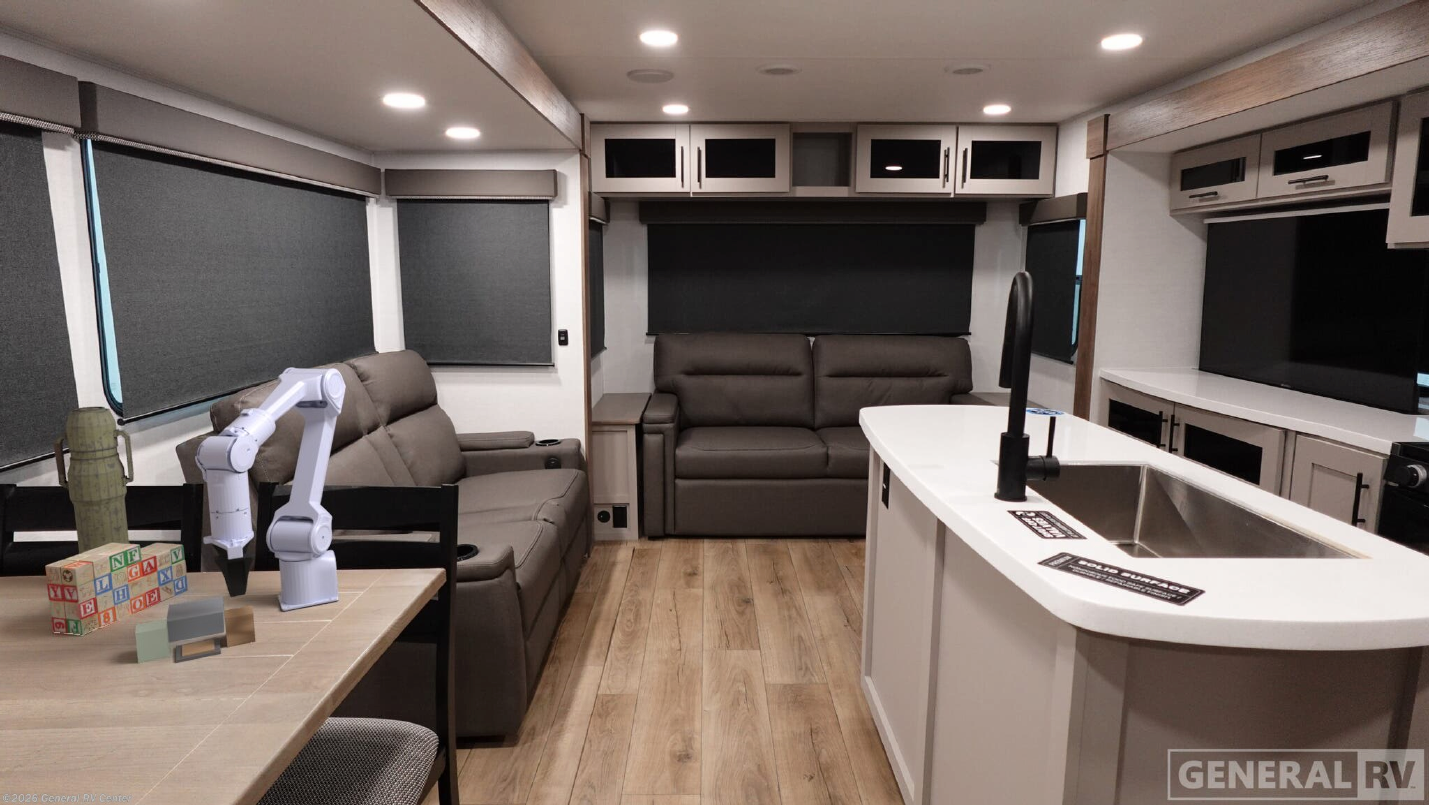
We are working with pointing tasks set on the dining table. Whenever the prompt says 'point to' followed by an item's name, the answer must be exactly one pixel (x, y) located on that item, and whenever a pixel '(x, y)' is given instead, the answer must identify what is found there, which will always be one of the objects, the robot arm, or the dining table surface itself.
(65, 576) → the stack of blocks
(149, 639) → the sage green block
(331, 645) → the dining table surface
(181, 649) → the card
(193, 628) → the slate base block
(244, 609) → the walnut block
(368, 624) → the dining table surface
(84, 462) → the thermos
